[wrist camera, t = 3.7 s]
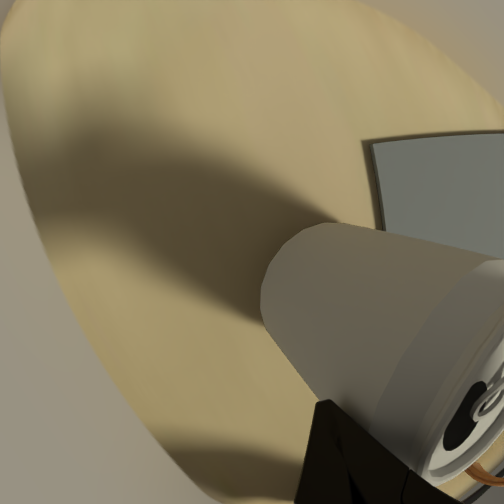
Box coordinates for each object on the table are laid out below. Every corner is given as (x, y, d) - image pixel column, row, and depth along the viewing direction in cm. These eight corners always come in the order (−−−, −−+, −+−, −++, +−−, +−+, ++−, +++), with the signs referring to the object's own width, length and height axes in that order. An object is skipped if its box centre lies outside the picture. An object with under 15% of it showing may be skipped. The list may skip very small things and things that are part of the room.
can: (230, 262, 15) (385, 427, 4) (352, 197, 16) (565, 221, 5) (286, 371, 17) (405, 529, 6) (386, 307, 18) (540, 393, 7)
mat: (536, 304, 18) (539, 306, 18) (389, 367, 19) (391, 371, 19) (537, 133, 15) (541, 133, 14) (369, 144, 16) (372, 143, 15)
